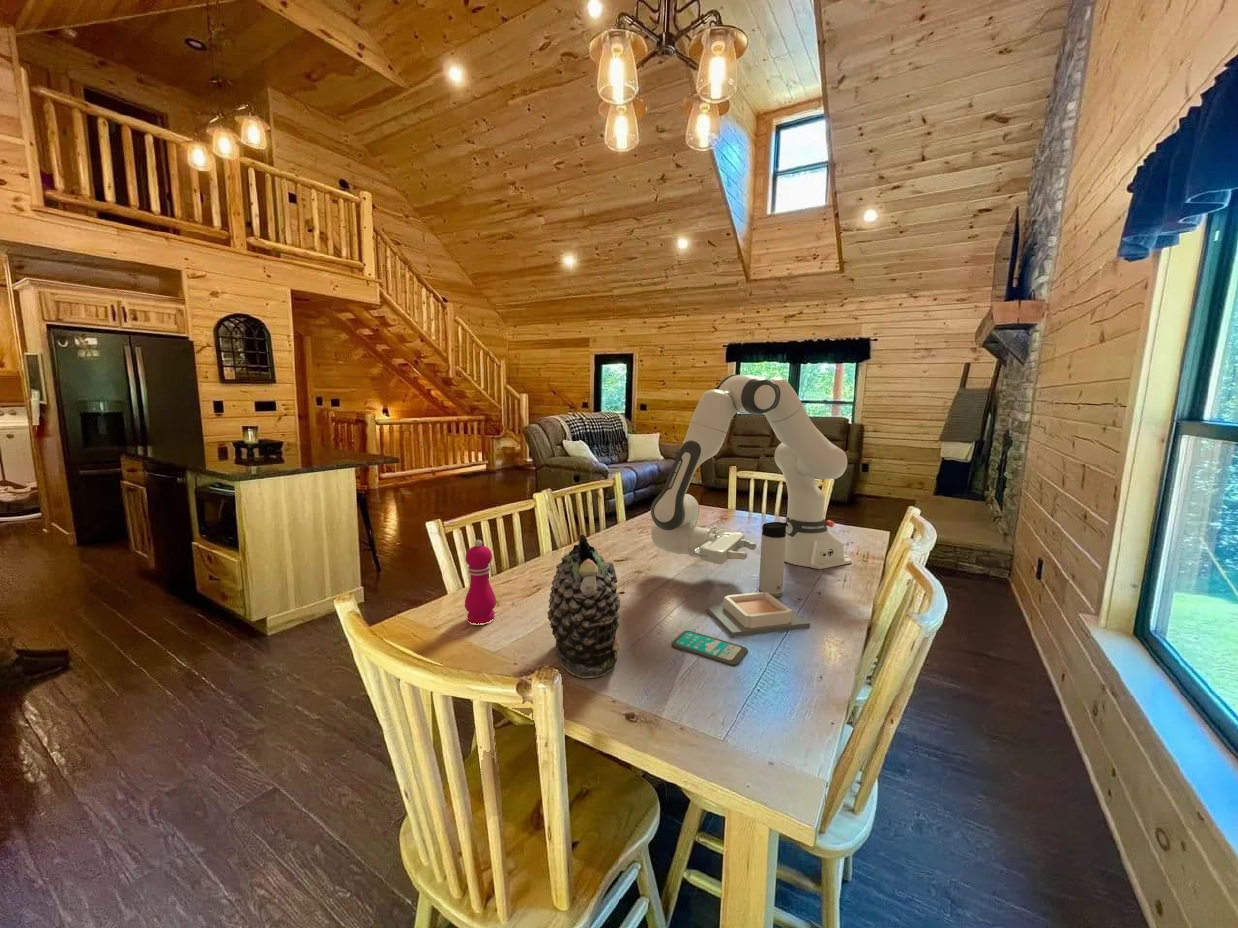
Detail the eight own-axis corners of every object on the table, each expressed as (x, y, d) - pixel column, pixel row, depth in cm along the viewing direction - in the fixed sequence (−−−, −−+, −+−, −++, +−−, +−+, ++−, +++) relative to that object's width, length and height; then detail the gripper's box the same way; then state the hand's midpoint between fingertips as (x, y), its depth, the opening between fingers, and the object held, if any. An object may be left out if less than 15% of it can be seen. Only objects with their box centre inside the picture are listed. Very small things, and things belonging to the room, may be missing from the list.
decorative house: (634, 678, 96) (636, 554, 92) (557, 690, 91) (555, 561, 88) (606, 628, 115) (607, 524, 112) (542, 637, 111) (540, 529, 107)
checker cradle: (776, 602, 130) (777, 588, 129) (809, 627, 116) (810, 611, 116) (706, 610, 125) (706, 595, 124) (732, 637, 112) (733, 620, 111)
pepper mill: (502, 616, 121) (500, 537, 118) (485, 629, 114) (482, 546, 111) (477, 611, 123) (474, 534, 120) (459, 624, 117) (455, 542, 114)
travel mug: (785, 598, 132) (789, 526, 129) (759, 596, 134) (763, 525, 131) (782, 589, 138) (786, 520, 135) (757, 587, 140) (761, 519, 137)
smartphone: (736, 665, 99) (669, 643, 107) (735, 669, 99) (669, 648, 107) (749, 647, 106) (686, 628, 114) (749, 651, 106) (686, 632, 115)
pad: (763, 604, 126) (763, 598, 126) (783, 620, 117) (783, 614, 117) (731, 608, 124) (731, 602, 123) (749, 624, 115) (749, 618, 115)
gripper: (690, 542, 135) (740, 550, 128) (716, 524, 153) (761, 531, 146) (690, 564, 136) (739, 573, 129) (715, 544, 154) (760, 551, 147)
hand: (751, 551), depth 138 cm, fingers open, 8 cm apart
